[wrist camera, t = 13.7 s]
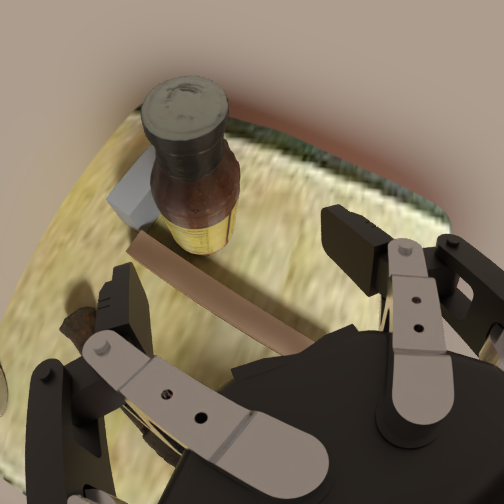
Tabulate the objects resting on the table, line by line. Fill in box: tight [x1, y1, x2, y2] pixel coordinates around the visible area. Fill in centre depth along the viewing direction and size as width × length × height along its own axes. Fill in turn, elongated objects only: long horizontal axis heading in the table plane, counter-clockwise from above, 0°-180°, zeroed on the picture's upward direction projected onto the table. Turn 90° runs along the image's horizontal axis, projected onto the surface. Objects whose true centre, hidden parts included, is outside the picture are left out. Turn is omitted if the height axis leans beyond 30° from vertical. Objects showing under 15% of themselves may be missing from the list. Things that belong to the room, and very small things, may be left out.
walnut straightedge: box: [126, 230, 315, 356], centre depth 28 cm, size 2×23×3 cm, turn 58°
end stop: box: [106, 144, 161, 233], centre depth 29 cm, size 8×3×6 cm, turn 148°
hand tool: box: [59, 307, 181, 468], centre depth 25 cm, size 19×4×5 cm, turn 37°
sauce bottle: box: [141, 76, 240, 256], centre depth 22 cm, size 6×6×20 cm
